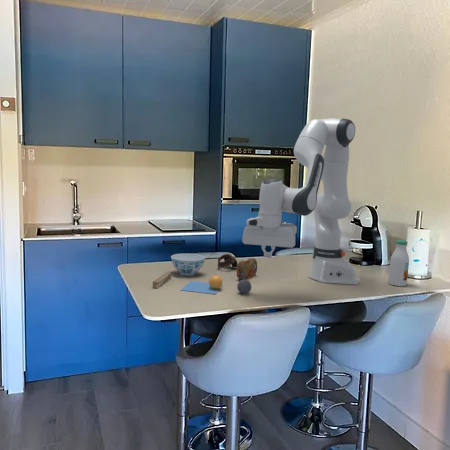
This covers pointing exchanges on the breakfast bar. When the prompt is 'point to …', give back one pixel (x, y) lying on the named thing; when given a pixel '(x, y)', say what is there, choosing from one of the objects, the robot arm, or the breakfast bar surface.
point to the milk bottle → (399, 265)
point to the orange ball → (215, 282)
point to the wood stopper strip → (161, 280)
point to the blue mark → (199, 288)
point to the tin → (246, 269)
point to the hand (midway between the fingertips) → (267, 257)
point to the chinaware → (187, 263)
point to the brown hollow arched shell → (227, 261)
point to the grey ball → (244, 286)
